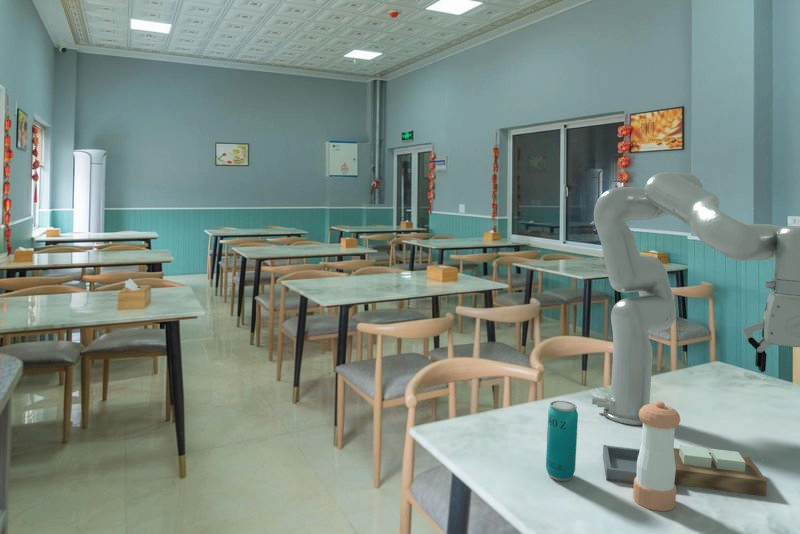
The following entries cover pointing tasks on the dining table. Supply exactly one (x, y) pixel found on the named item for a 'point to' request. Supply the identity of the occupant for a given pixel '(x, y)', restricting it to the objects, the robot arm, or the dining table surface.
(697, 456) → the tile
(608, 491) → the dining table surface
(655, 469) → the salt shaker
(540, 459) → the dining table surface
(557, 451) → the beverage can
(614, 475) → the tray
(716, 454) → the tile
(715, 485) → the board
